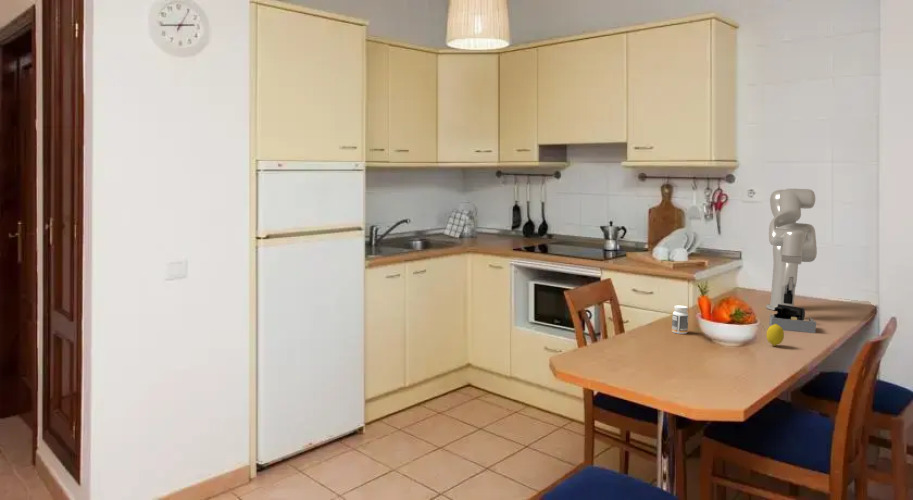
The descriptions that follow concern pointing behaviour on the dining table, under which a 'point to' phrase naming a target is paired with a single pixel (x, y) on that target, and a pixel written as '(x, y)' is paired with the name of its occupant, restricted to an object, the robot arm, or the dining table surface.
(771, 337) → the lemon
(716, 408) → the dining table surface
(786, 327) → the steel cradle
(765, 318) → the dining table surface
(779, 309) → the end cap
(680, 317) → the pill bottle
